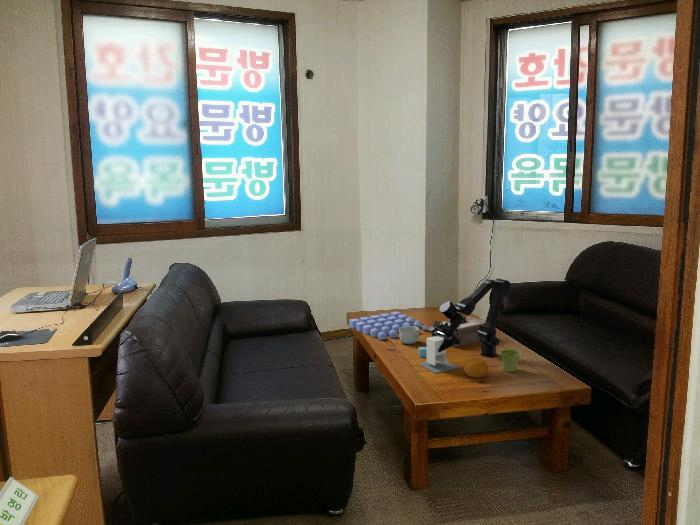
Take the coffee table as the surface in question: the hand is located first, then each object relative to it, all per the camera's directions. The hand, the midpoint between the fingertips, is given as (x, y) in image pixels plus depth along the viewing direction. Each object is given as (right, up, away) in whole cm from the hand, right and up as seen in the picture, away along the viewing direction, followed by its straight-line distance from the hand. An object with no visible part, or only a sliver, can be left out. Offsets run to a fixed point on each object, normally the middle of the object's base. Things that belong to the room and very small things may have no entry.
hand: (433, 350), depth 278 cm
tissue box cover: (+21, -1, +43) cm, 48 cm away
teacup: (-8, -2, +41) cm, 42 cm away
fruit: (+18, -11, -11) cm, 23 cm away
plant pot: (+35, -9, -4) cm, 36 cm away
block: (-3, -6, +18) cm, 19 cm away
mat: (+3, -8, +2) cm, 9 cm away
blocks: (-17, +2, +66) cm, 68 cm away
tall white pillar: (+1, -6, +2) cm, 7 cm away
